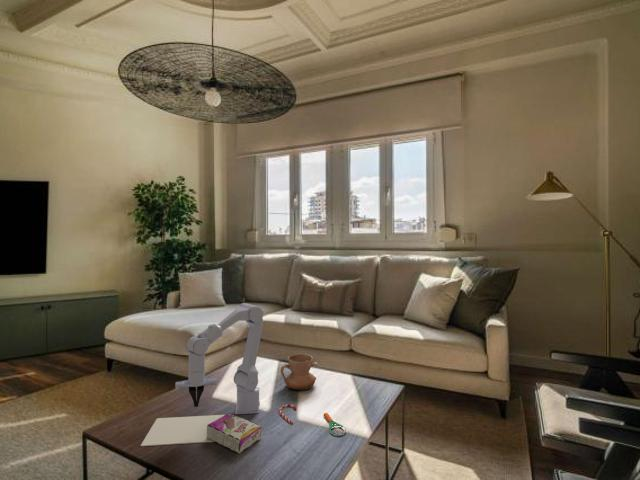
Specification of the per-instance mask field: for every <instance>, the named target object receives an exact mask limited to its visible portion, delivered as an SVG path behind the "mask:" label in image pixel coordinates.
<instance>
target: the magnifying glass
mask: <svg viewBox="0 0 640 480" xmlns="http://www.w3.org/2000/svg"><path fill="white" fill-rule="evenodd" d="M324 416H325V417H324ZM323 417H324V419H327V420H328V421H329V422H330V424H329V429H330V431H331V432H332V433H333V432H334V431H332V430H331V428H332V427H334V426H341V427H344V428H345V426H343V425H341V424H340V423H338V422H336V421H334V420H333V418H332V417H331V416H330V415H329V413H328V412H325V413H324V412H323ZM327 420H326V421H327ZM328 421H327V422H328ZM332 424H336V425H332ZM345 431H347V429H346V428H345ZM336 433H337V432H334V433H333V434H336ZM341 433H342V432H341ZM342 434H343V433H342ZM337 435H338V434H337Z"/></svg>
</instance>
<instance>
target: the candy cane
mask: <svg viewBox="0 0 640 480" xmlns="http://www.w3.org/2000/svg"><path fill="white" fill-rule="evenodd" d="M292 407H293V408H292ZM285 408H292V409H293V410H294V411H297V407H296V405H294V404H283V405H281V406H280V407H279V409H278V414H279V416H280V415H281V416H280V417H281V418H282V419H283V420H284V421H285V420H286V421H285V422H287V423H288V424H289V423H290V425H291V424H292V425H293V424H294V422H293V421H292V420H291V419H289V418H288V417H287V416H286V414H284V413H283V411H282V410H284V409H285Z"/></svg>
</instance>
